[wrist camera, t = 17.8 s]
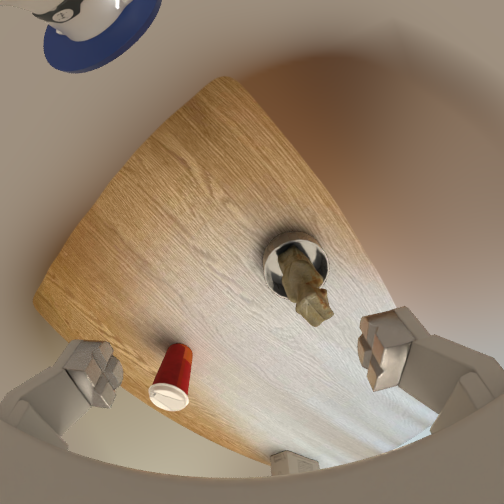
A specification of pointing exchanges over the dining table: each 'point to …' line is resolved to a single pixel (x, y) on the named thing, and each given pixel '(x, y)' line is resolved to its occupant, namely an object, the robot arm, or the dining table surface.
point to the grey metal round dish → (282, 244)
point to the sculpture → (304, 286)
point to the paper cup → (172, 379)
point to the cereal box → (291, 464)
